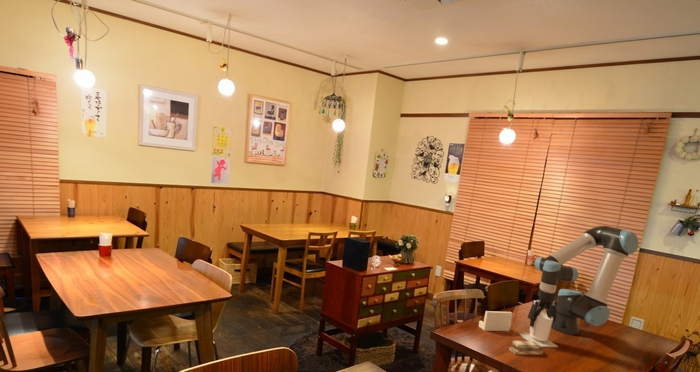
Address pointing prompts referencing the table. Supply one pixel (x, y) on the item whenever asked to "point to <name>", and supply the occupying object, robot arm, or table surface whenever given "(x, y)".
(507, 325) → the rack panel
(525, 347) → the offcut stack
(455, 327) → the table surface
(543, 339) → the candle holder
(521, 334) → the felt pad
